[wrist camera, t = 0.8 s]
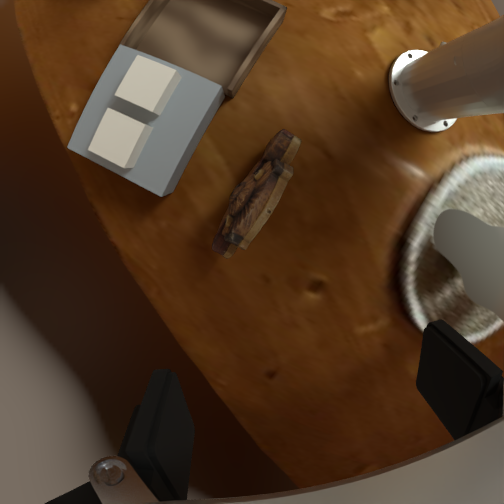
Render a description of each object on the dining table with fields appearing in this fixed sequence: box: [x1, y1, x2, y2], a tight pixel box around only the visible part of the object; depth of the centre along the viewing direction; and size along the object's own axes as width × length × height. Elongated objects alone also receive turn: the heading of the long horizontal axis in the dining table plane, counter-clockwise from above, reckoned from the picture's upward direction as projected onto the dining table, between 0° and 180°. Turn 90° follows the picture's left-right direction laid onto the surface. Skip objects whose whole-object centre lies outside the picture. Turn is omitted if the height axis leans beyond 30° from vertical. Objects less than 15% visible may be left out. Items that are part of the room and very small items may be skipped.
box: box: [120, 0, 287, 98], centre depth 32 cm, size 13×16×4 cm
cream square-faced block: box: [115, 55, 182, 116], centre depth 29 cm, size 5×5×3 cm
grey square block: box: [67, 45, 225, 197], centre depth 34 cm, size 14×14×6 cm
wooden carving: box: [212, 129, 301, 259], centre depth 35 cm, size 16×5×10 cm, turn 154°
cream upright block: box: [88, 108, 153, 168], centre depth 31 cm, size 5×5×3 cm
